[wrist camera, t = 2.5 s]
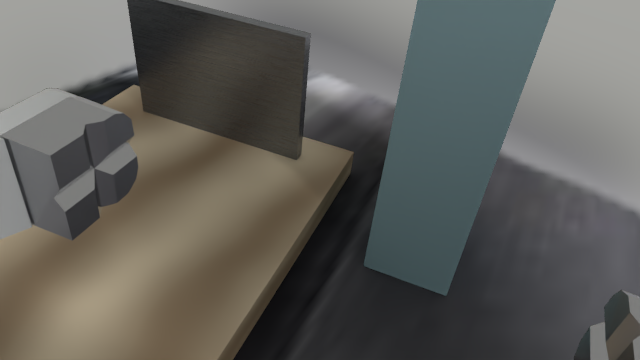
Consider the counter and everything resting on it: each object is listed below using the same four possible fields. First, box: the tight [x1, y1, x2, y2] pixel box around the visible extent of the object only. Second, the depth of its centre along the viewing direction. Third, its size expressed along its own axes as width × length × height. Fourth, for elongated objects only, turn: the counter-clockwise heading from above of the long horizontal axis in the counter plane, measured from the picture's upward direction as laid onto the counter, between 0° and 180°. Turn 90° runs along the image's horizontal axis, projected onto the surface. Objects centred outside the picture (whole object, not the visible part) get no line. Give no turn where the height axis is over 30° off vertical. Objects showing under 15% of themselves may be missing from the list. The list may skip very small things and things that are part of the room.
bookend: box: [127, 0, 311, 160], centre depth 28 cm, size 10×2×7 cm, turn 67°
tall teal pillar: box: [363, 0, 556, 296], centre depth 22 cm, size 4×7×14 cm, turn 157°
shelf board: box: [0, 85, 354, 360], centre depth 24 cm, size 15×20×2 cm
